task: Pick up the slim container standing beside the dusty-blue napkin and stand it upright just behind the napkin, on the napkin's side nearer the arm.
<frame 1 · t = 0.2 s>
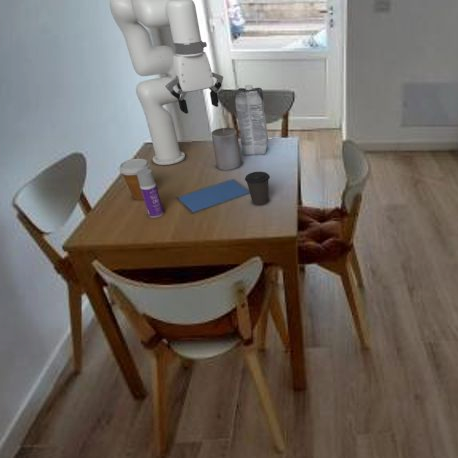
hand: (200, 109, 130), 31 cm above the table, tool pointing down, fingers open, 9 cm apart
pillar candle: (229, 165, 170), on the table
coffee cup: (260, 202, 145), on the table
napkin: (214, 195, 149), on the table
disposable coffee cup: (143, 195, 150), on the table
container: (156, 214, 139), on the table
juice carton: (256, 152, 181), on the table
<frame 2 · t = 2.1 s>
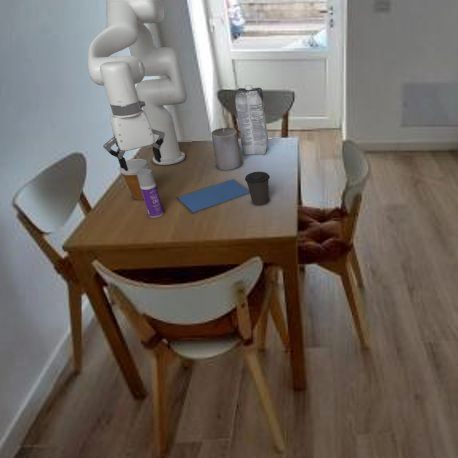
hand: (142, 165, 129), 17 cm above the table, tool pointing down, fingers open, 9 cm apart
nothing on the table moved.
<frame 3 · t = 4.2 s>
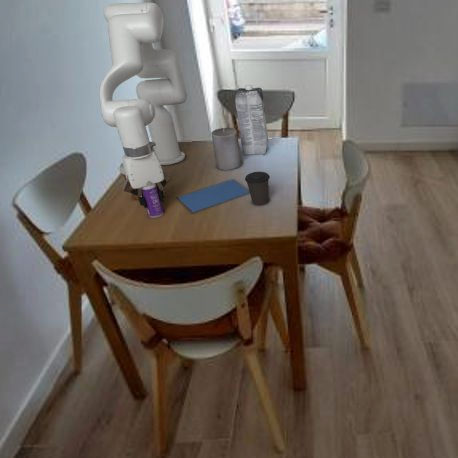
hand: (153, 202, 137), 4 cm above the table, tool pointing down, fingers closed on container, 4 cm apart
container: (156, 214, 139), on the table, touching gripper
everything else where it was.
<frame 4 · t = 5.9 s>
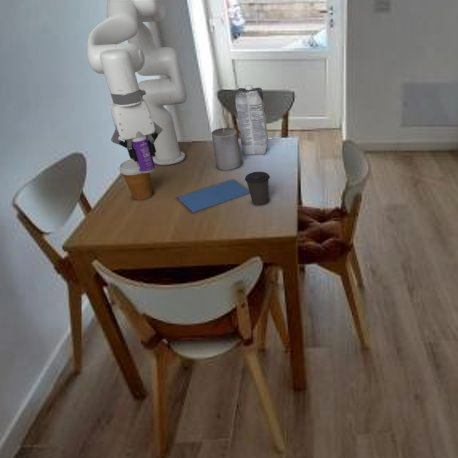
hand: (143, 157, 130), 19 cm above the table, tool pointing down, fingers closed on container, 4 cm apart
container: (147, 170, 132), point 15 cm above the table, touching gripper
everything else where it was.
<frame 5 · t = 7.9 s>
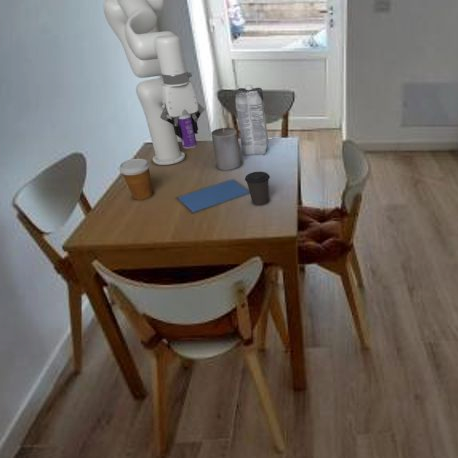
hand: (187, 134, 144), 20 cm above the table, tool pointing down, fingers closed on container, 4 cm apart
container: (190, 146, 146), point 16 cm above the table, touching gripper
everything else where it was.
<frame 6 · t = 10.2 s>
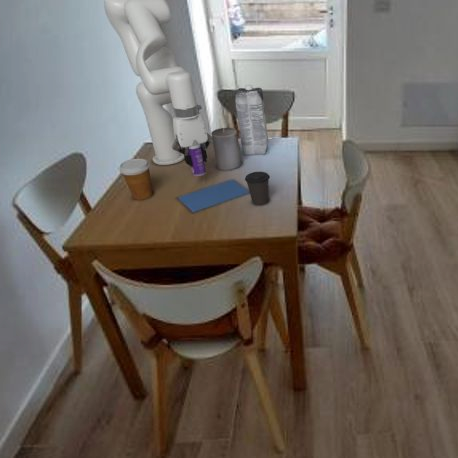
hand: (197, 162, 151), 9 cm above the table, tool pointing down, fingers closed on container, 4 cm apart
container: (199, 173, 153), point 5 cm above the table, touching gripper
everything else where it was.
when the fingers open (4 cm above the table, at t = 11.7 s): container stays where it is, on the table.
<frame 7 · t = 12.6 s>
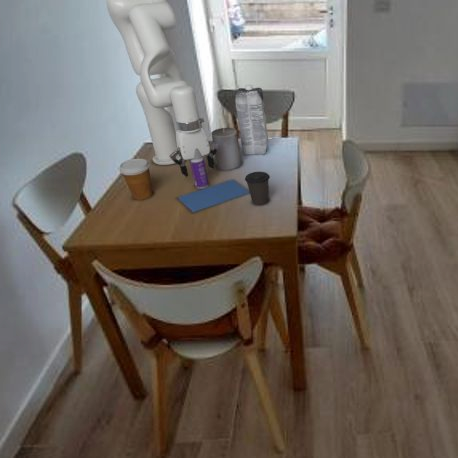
hand: (198, 171, 153), 6 cm above the table, tool pointing down, fingers open, 9 cm apart
container: (202, 186, 156), on the table
everything else where it was.
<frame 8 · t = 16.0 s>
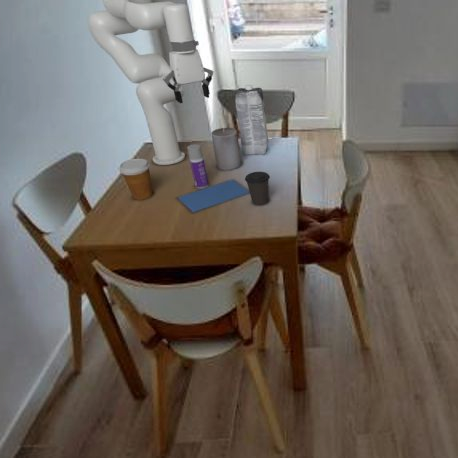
hand: (193, 99, 148), 28 cm above the table, tool pointing down, fingers open, 9 cm apart
nothing on the table moved.
at the end: container inside the target area (0.9 cm from its centre), on the table; container tilted 0°; the gripper is holding nothing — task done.
